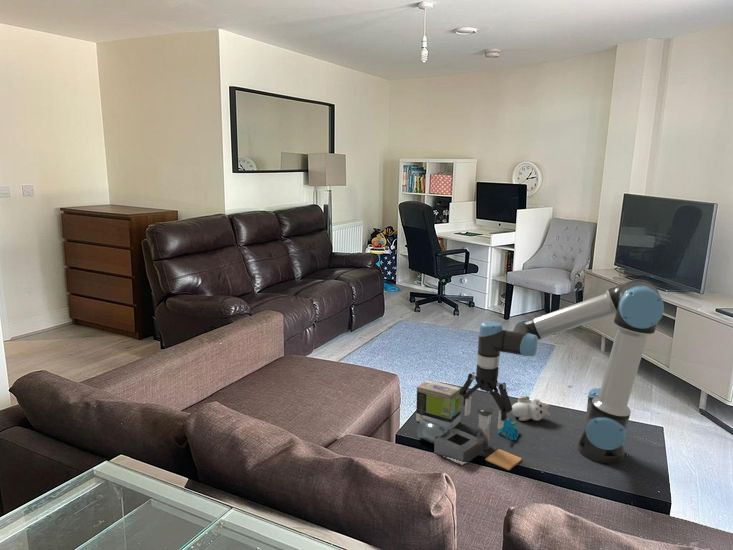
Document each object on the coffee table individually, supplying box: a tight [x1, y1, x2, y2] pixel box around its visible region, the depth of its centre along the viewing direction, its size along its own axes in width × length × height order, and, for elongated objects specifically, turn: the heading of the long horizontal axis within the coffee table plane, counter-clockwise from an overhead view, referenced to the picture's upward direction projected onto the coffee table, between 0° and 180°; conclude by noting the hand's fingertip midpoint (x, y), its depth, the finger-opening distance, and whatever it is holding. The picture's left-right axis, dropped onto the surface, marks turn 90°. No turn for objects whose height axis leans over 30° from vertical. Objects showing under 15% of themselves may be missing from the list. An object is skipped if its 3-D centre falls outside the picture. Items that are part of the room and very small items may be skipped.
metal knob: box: [476, 406, 493, 451], centre depth 190 cm, size 5×5×14 cm
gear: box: [497, 415, 519, 442], centre depth 199 cm, size 11×6×10 cm
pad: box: [485, 448, 523, 471], centre depth 182 cm, size 9×9×1 cm
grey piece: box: [416, 419, 483, 463], centre depth 189 cm, size 22×12×7 cm, turn 46°
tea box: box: [415, 379, 462, 430], centre depth 208 cm, size 15×10×15 cm, turn 56°
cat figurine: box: [510, 396, 551, 422], centre depth 212 cm, size 10×8×15 cm
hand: (483, 421), depth 189 cm, fingers open, 13 cm apart
